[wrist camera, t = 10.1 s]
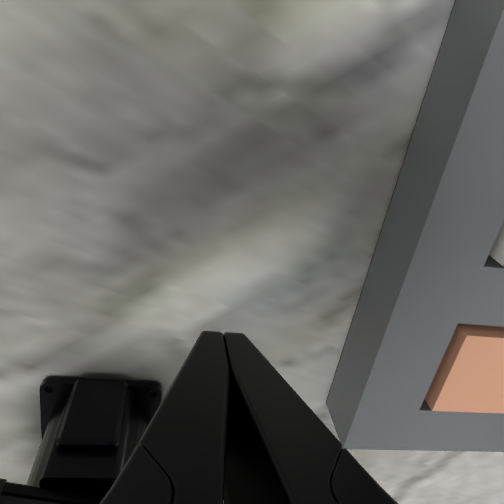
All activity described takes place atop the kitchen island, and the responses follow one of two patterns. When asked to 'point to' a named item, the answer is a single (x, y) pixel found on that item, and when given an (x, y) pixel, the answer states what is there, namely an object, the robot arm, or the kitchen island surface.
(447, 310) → the key panel
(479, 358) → the terracotta key
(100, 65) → the kitchen island surface
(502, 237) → the offwhite key
